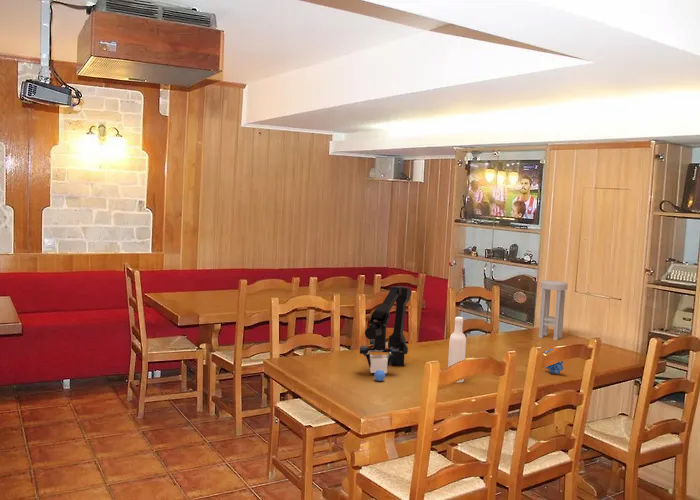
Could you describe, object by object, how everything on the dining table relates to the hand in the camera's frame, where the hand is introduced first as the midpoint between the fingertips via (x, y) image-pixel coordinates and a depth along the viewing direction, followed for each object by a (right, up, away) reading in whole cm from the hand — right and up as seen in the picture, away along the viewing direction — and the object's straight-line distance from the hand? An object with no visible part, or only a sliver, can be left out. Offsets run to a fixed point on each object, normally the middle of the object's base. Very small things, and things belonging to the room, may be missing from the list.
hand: (378, 368), depth 318 cm
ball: (0, -2, -11) cm, 11 cm away
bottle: (+36, -5, -5) cm, 37 cm away
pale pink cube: (0, -1, 0) cm, 1 cm away
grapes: (+86, -6, +14) cm, 88 cm away
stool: (+112, +1, +100) cm, 150 cm away
